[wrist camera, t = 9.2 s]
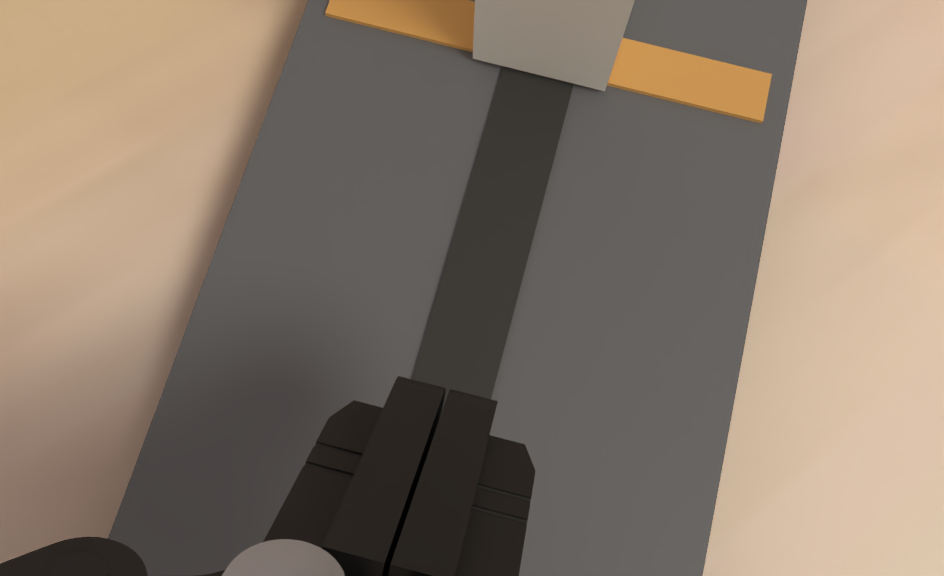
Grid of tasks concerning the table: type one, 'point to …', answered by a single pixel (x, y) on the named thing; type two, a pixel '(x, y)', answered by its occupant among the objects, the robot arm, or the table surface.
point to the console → (485, 276)
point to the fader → (552, 37)
